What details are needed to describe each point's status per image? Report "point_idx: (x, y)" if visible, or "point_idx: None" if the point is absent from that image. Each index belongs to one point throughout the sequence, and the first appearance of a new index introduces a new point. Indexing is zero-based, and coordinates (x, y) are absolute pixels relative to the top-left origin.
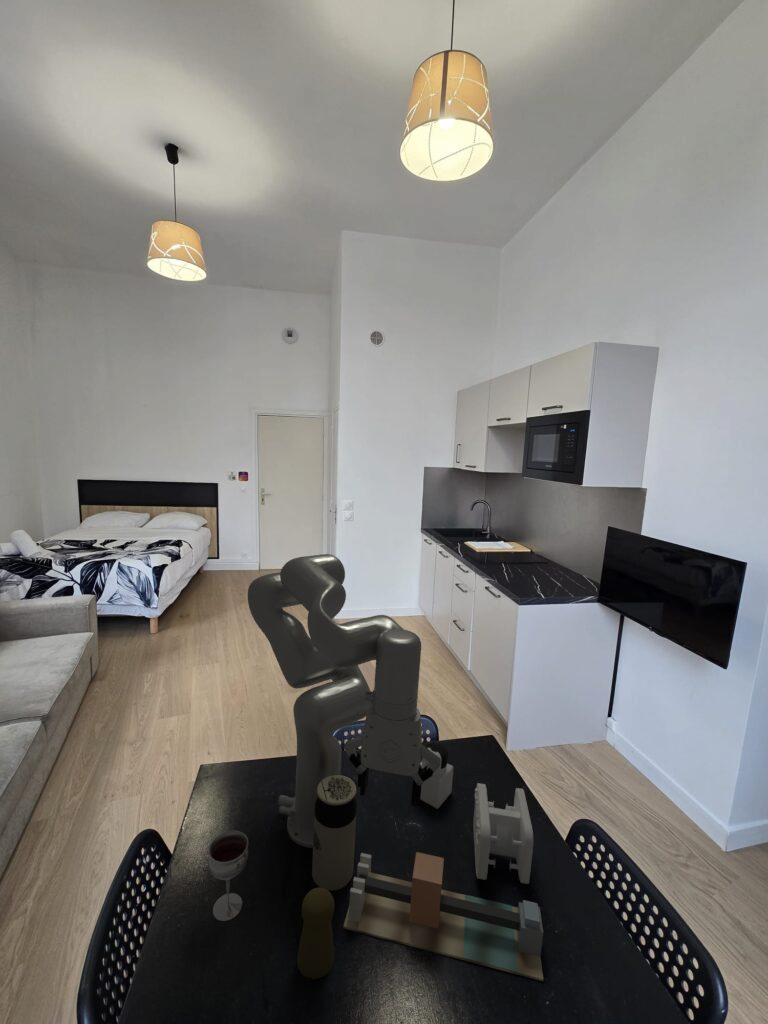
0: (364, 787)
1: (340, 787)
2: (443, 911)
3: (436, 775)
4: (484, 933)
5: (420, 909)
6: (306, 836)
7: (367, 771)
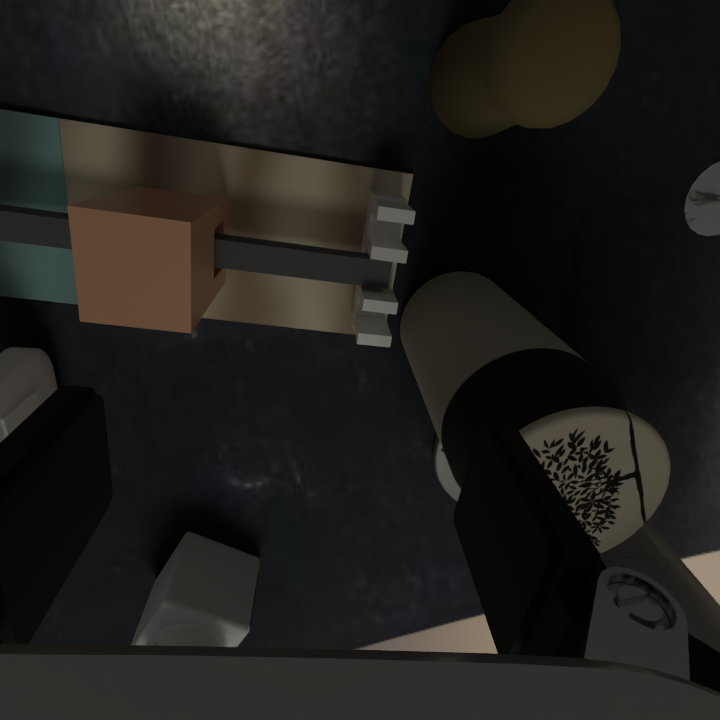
0: (506, 465)
1: None
2: None
3: (176, 621)
4: (5, 197)
5: (184, 200)
6: None
7: (512, 604)
